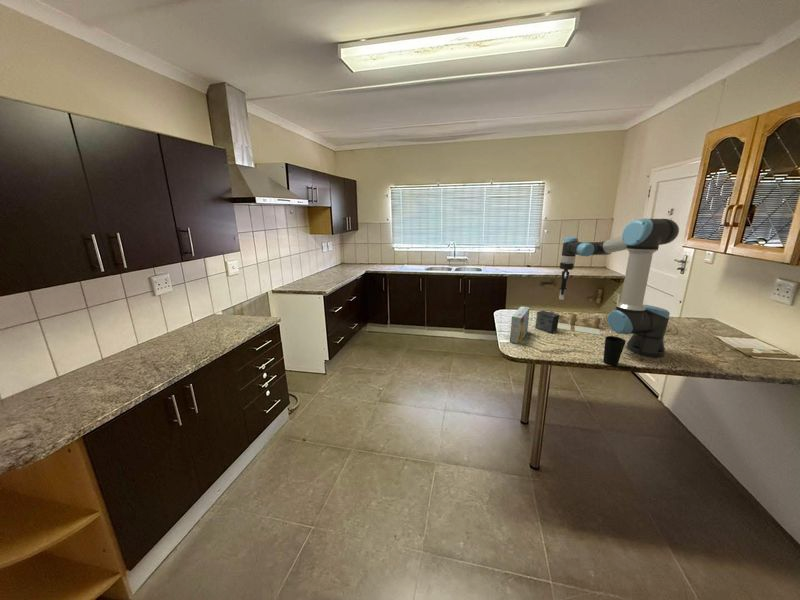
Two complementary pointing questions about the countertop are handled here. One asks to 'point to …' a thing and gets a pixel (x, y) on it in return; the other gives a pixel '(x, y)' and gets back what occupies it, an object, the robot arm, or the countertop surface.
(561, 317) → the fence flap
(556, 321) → the small box
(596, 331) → the card
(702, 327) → the countertop surface
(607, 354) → the cup
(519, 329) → the snack box
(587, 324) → the fence fixed
